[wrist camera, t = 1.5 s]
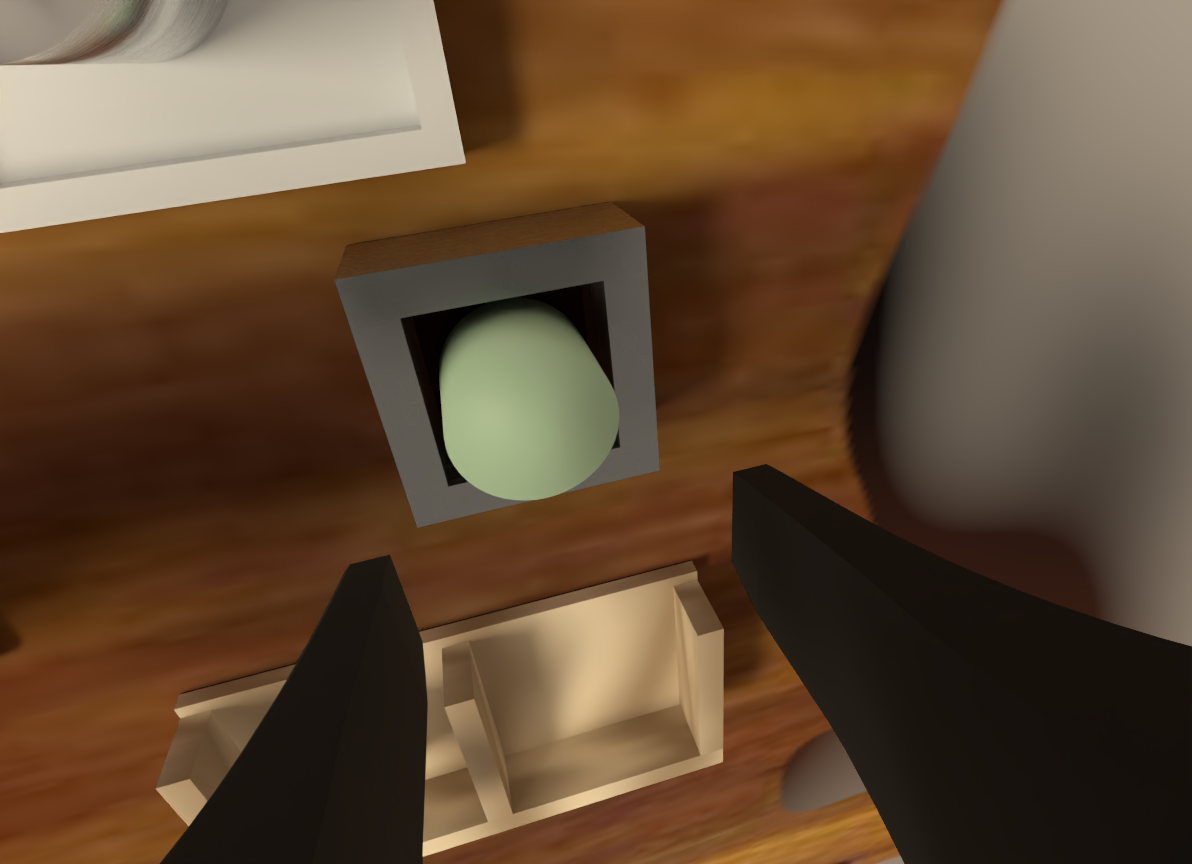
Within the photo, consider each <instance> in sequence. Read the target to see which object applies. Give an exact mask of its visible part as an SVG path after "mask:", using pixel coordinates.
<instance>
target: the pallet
mask: <svg viewBox="0 0 1192 864" xmlns="http://www.w3.org/2000/svg"><path fill="white" fill-rule="evenodd" d="M419 634H420V636H421V639H422V641H423V651H424V662H425V673H426V686H427V699H428V713H427V745H426V774H425V801H424V828H423V857H424V856H427V855H430V854H433V853H436V852H439V851H442V850H446V849H449V848H452V847H455V846H458V845H461V844H465V843H468V842H471V841H474V840H477V839H480V838H484V837H487V836H490V835H493V834H496V833H499V832H503V831H506V830H509V829H512V828H515V827H518V826H522V825H525V824H528V823H531V822H534V821H537V820H541V819H544V818H547V817H550V816H553V815H556V814H560V813H563V812H566V811H569V810H572V809H575V808H578V807H582V806H585V805H588V804H591V803H594V802H597V801H601V800H604V799H607V798H610V797H613V796H616V795H620V794H623V793H626V792H629V791H632V790H635V789H639V788H642V787H645V786H648V785H651V784H654V783H658V782H661V781H664V780H667V779H670V778H673V777H677V776H680V775H683V774H686V773H689V772H692V771H696V770H699V769H702V768H705V767H708V766H711V765H715V764H718V763H721V762H723V677H724V628H723V626H722V624H721V622H720V621H719V619H718V617H717V615H716V613H715V611H714V610H713V608H712V606H711V604H710V602H709V600H708V599H707V597H706V595H705V593H704V591H703V589H702V588H701V586H700V584H699V582H698V579H697V570H696V568H695V566H694V564H693V562H692V561H689V562H685V563H681V564H677V565H673V566H669V567H666V568H662V569H658V570H654V571H650V572H646V573H643V574H639V575H635V576H631V577H627V578H624V579H620V580H616V581H612V582H608V583H604V584H601V585H597V586H593V587H589V588H585V589H581V590H578V591H574V592H570V593H566V594H562V595H559V596H555V597H551V598H547V599H543V600H539V601H536V602H532V603H528V604H524V605H520V606H516V607H513V608H509V609H505V610H501V611H497V612H494V613H490V614H486V615H482V616H478V617H474V618H471V619H467V620H463V621H459V622H455V623H451V624H448V625H444V626H440V627H436V628H432V629H428V630H425V631H421V632H419ZM294 666H295V665H291V666H287V667H283V668H279V669H276V670H272V671H268V672H264V673H260V674H256V675H253V676H249V677H245V678H241V679H237V680H233V681H230V682H226V683H222V684H218V685H214V686H210V687H207V688H203V689H199V690H195V691H191V692H188V693H184V694H180V695H179V697H178V699H177V702H176V705H175V707H174V711H175V712H176V713H177V714H178V716H179V717H180V721H179V724H178V727H177V729H176V732H175V735H174V738H173V741H172V743H171V746H170V749H169V752H168V755H167V758H166V760H165V763H164V766H163V769H162V772H161V774H160V777H159V780H158V783H157V786H156V790H157V791H158V792H159V793H160V794H161V795H162V797H163V798H164V799H165V800H166V801H167V802H168V803H169V804H170V806H171V807H172V808H173V809H174V810H175V811H176V812H177V814H178V815H179V816H180V817H181V818H182V819H183V820H184V821H185V823H186V824H187V825H188V826H189V825H190V824H191V823H192V821H193V820H194V819H195V817H196V816H197V815H198V813H199V812H200V810H201V809H202V808H203V806H204V805H205V804H206V802H207V801H208V800H209V798H210V797H211V795H212V794H213V793H214V791H215V790H216V788H217V787H218V786H219V784H220V783H221V781H222V780H223V778H224V777H225V776H226V774H227V773H228V771H229V770H230V768H231V767H232V765H233V764H234V762H235V761H236V759H237V758H238V757H239V755H240V754H241V752H242V751H243V749H244V747H245V746H246V744H247V743H248V741H249V740H250V738H251V736H252V735H253V733H254V732H255V730H256V729H257V727H258V725H259V724H260V722H261V721H262V719H263V717H264V716H265V714H266V713H267V711H268V710H269V708H270V706H271V705H272V703H273V702H274V700H275V699H276V697H277V695H278V694H279V692H280V690H281V689H282V687H283V685H284V684H285V682H286V680H287V678H288V677H289V675H290V673H291V671H292V670H293V668H294Z"/></svg>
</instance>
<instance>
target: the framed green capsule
mask: <svg viewBox="0 0 1192 864" xmlns="http://www.w3.org/2000/svg"><path fill="white" fill-rule="evenodd" d="M334 281H335V284H336V286H337V289H338V292H339V295H340V298H341V301H342V304H343V307H344V310H345V313H346V316H347V319H348V322H349V325H350V328H351V331H352V334H353V337H354V340H355V343H356V346H357V349H358V352H359V355H360V358H361V361H362V364H363V367H364V370H365V373H366V376H367V379H368V382H369V385H370V388H371V391H372V394H373V397H374V400H375V403H376V406H377V409H378V412H379V415H380V418H381V421H382V424H383V427H384V430H385V433H386V436H387V439H388V442H389V445H390V448H391V451H392V454H393V457H394V460H395V463H396V465H397V468H398V471H399V474H400V477H401V480H402V483H403V486H404V489H405V492H406V495H407V498H408V501H409V504H410V507H411V510H412V513H413V516H414V519H415V522H416V525H417V528H418V527H422V526H426V525H431V524H435V523H439V522H443V521H448V520H452V519H456V518H460V517H464V516H469V515H473V514H477V513H481V512H486V511H490V510H494V509H498V508H503V507H507V506H511V505H515V504H520V503H524V502H528V501H532V500H526V501H525V500H510V499H504V498H500V497H496V496H493V495H491V494H488V493H486V492H484V491H482V490H480V489H478V488H476V487H475V486H473V485H472V484H471V483H469V482H468V481H467V480H466V479H465V478H464V477H463V476H462V475H461V474H460V473H459V472H458V471H457V469H456V468H455V467H454V465H453V463H452V461H451V460H450V458H449V455H448V453H447V450H446V446H445V441H444V434H443V426H442V423H441V419H440V415H439V412H438V408H437V404H436V401H435V397H434V394H433V390H432V386H431V383H430V379H429V375H428V372H427V368H426V365H425V361H424V357H423V354H422V350H421V346H420V343H419V339H418V336H417V332H416V328H415V325H414V321H413V317H412V316H415V315H421V314H426V313H432V312H437V311H442V310H448V309H453V308H459V307H464V306H470V305H475V304H480V303H486V302H491V301H497V300H502V299H507V298H513V297H518V296H524V295H529V294H534V293H540V292H545V291H551V290H556V289H562V288H567V287H572V286H578V285H581V291H582V299H583V307H584V316H585V324H586V332H587V341H588V347H589V349H590V351H591V352H592V354H593V355H594V357H595V359H596V360H597V362H598V364H599V365H600V367H601V369H602V370H603V372H604V374H605V375H606V377H607V379H608V380H609V382H610V384H611V386H612V388H613V390H614V392H615V395H616V398H617V402H618V407H619V425H618V431H617V435H616V439H615V441H614V444H613V446H612V449H611V450H610V452H609V454H608V456H607V457H606V459H605V460H604V461H603V463H602V464H601V465H600V466H599V468H598V469H597V470H596V471H595V472H594V473H593V474H592V475H590V476H589V477H588V478H587V479H586V480H584V481H583V482H581V483H580V484H578V485H577V486H575V487H573V488H571V489H570V490H568V491H565V492H563V493H566V492H570V491H575V490H579V489H583V488H587V487H592V486H596V485H600V484H604V483H608V482H613V481H617V480H621V479H625V478H630V477H634V476H638V475H642V474H647V473H651V472H655V471H659V470H660V468H659V451H658V435H657V418H656V402H655V386H654V369H653V353H652V336H651V320H650V304H649V287H648V271H647V254H646V238H645V226H644V225H642V224H641V223H640V222H638V221H637V220H635V219H634V218H633V217H631V216H630V215H628V214H627V213H626V212H624V211H623V210H622V209H620V208H619V207H617V206H616V205H615V204H613V203H612V202H607V203H600V204H594V205H588V206H582V207H576V208H570V209H564V210H558V211H552V212H546V213H540V214H534V215H528V216H522V217H516V218H510V219H503V220H497V221H491V222H485V223H479V224H473V225H467V226H461V227H455V228H449V229H443V230H437V231H431V232H425V233H419V234H413V235H407V236H400V237H394V238H388V239H382V240H376V241H370V242H364V243H358V244H352V245H347V246H346V249H345V252H344V255H343V257H342V260H341V263H340V266H339V268H338V271H337V274H336V277H335V279H334ZM560 494H562V493H560Z"/></svg>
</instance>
